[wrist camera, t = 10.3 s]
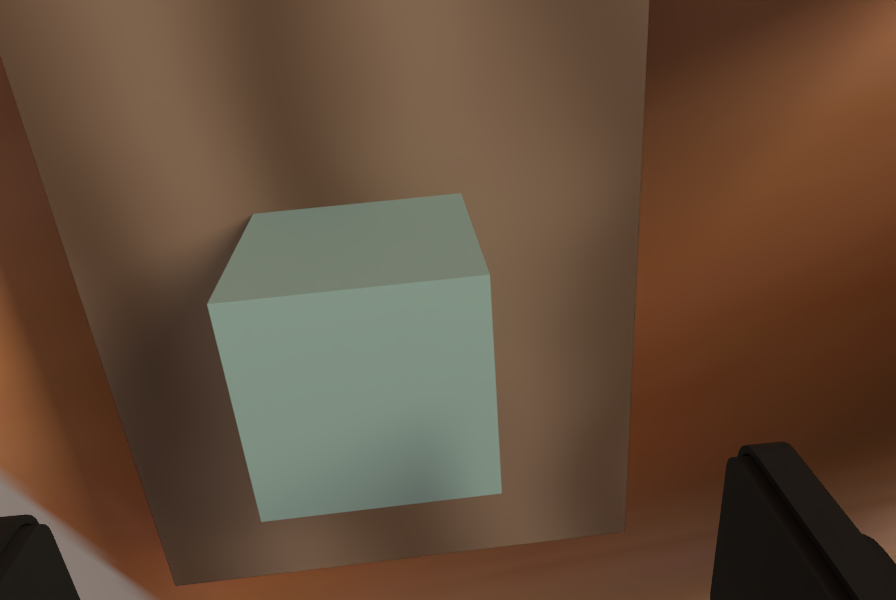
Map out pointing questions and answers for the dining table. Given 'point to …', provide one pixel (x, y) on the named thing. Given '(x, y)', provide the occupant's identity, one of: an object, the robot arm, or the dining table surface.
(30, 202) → the dining table surface
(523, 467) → the walnut riser
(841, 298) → the dining table surface
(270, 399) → the teal block
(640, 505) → the dining table surface
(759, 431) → the dining table surface
